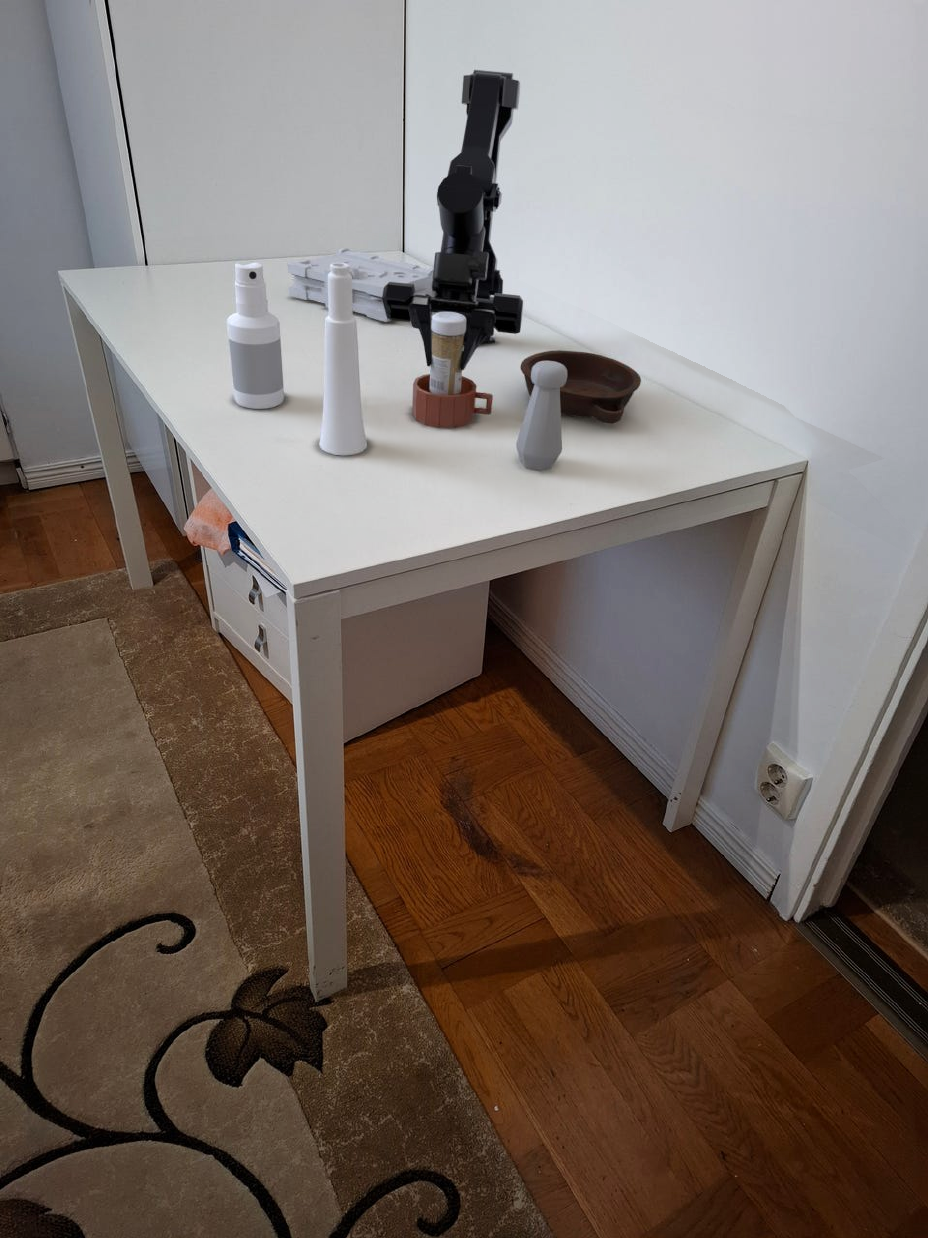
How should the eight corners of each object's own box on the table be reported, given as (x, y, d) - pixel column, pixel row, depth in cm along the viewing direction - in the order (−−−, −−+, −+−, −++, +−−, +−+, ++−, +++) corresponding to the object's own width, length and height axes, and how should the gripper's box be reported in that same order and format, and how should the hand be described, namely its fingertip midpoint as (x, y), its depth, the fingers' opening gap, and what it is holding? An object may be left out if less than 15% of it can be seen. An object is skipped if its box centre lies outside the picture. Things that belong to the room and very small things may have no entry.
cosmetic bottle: (371, 454, 104) (371, 271, 91) (323, 457, 103) (316, 272, 89) (362, 434, 109) (361, 257, 96) (316, 437, 107) (308, 257, 94)
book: (330, 274, 170) (329, 234, 165) (444, 303, 159) (446, 261, 154) (265, 293, 156) (262, 250, 152) (385, 326, 145) (385, 281, 141)
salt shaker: (511, 452, 107) (523, 354, 100) (554, 454, 108) (569, 356, 100) (517, 473, 103) (530, 371, 95) (562, 474, 103) (578, 373, 96)
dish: (555, 438, 112) (560, 403, 109) (493, 379, 128) (496, 347, 125) (664, 427, 118) (672, 394, 115) (592, 372, 134) (597, 341, 131)
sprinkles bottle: (466, 416, 115) (473, 318, 107) (438, 421, 113) (443, 322, 105) (448, 403, 118) (454, 308, 110) (421, 409, 116) (425, 312, 108)
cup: (407, 424, 112) (408, 392, 110) (418, 400, 119) (419, 369, 117) (487, 433, 112) (490, 401, 109) (493, 408, 119) (496, 378, 116)
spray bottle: (241, 412, 112) (228, 273, 101) (228, 394, 116) (215, 259, 106) (290, 406, 114) (282, 270, 104) (276, 388, 119) (267, 256, 108)
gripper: (385, 215, 105) (367, 330, 103) (530, 230, 104) (515, 346, 102) (395, 265, 116) (379, 369, 114) (527, 278, 115) (513, 384, 113)
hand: (444, 366), depth 110 cm, fingers closed on sprinkles bottle, 4 cm apart
